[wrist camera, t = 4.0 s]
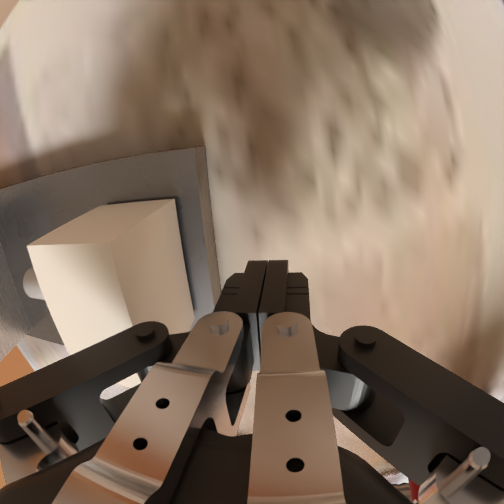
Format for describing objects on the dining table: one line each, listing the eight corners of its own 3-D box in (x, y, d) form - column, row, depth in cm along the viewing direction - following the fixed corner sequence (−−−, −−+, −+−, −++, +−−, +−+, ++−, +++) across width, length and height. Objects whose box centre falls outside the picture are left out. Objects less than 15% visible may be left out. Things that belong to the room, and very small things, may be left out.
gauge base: (-18, 195, 16) (-85, 227, 9) (204, 146, 13) (111, 169, 6) (22, 321, 20) (-26, 369, 13) (230, 354, 17) (199, 459, 10)
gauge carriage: (48, 212, 13) (-19, 247, 9) (174, 198, 12) (109, 242, 7) (96, 356, 17) (60, 407, 12) (207, 373, 16) (182, 444, 11)
